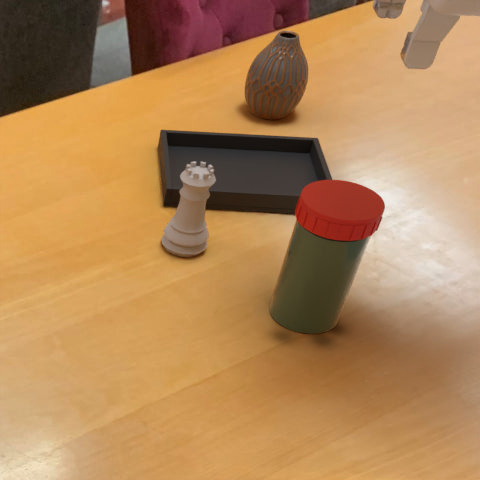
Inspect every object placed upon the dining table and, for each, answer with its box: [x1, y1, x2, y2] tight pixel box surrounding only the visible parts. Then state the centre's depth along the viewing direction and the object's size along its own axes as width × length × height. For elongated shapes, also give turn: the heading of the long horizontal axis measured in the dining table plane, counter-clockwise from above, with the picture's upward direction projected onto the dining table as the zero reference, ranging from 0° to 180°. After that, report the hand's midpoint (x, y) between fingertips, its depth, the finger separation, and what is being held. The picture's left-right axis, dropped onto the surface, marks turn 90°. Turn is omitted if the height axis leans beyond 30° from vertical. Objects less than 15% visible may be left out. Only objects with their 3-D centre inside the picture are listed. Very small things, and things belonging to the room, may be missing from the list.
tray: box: [157, 129, 333, 215], centre depth 95 cm, size 17×13×2 cm
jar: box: [268, 219, 372, 335], centre depth 76 cm, size 6×6×10 cm
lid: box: [294, 179, 386, 241], centre depth 72 cm, size 7×7×2 cm
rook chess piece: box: [160, 161, 216, 258], centre depth 84 cm, size 4×4×8 cm
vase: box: [244, 30, 309, 120], centre depth 104 cm, size 7×7×9 cm
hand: (398, 38), depth 62 cm, fingers open, 8 cm apart
